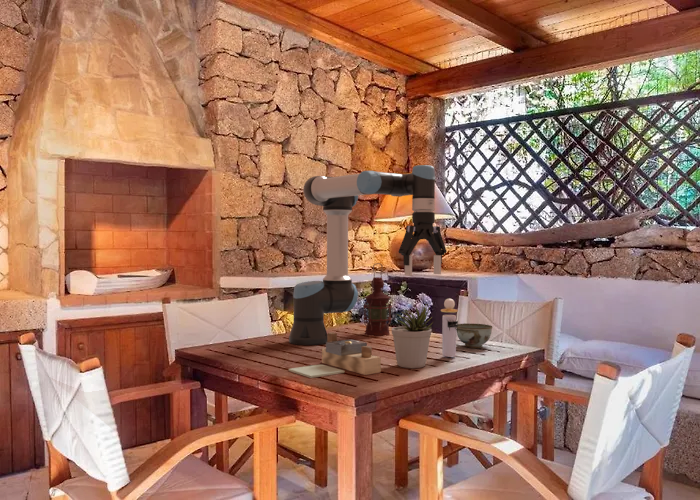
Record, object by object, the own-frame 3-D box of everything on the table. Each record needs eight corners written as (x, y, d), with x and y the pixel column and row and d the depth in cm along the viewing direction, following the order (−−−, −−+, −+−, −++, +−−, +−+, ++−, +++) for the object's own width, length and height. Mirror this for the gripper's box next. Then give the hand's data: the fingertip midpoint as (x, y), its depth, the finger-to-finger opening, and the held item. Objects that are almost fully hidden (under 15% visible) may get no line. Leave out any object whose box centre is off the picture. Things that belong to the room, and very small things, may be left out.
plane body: (321, 362, 195) (321, 333, 195) (336, 360, 199) (336, 331, 199) (365, 374, 178) (365, 342, 178) (380, 372, 182) (380, 340, 181)
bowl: (477, 351, 217) (477, 329, 217) (447, 346, 227) (448, 325, 227) (499, 347, 226) (499, 325, 226) (470, 342, 236) (470, 322, 236)
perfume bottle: (437, 356, 207) (437, 298, 206) (450, 355, 209) (451, 297, 209) (447, 359, 202) (447, 299, 201) (461, 358, 204) (461, 298, 204)
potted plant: (405, 372, 182) (405, 305, 182) (384, 363, 195) (384, 301, 194) (441, 368, 187) (441, 303, 187) (418, 360, 200) (418, 299, 199)
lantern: (382, 337, 248) (382, 264, 248) (357, 334, 255) (357, 263, 255) (396, 333, 259) (397, 263, 258) (372, 331, 265) (372, 262, 265)
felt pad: (288, 370, 183) (288, 368, 183) (321, 366, 190) (321, 364, 190) (311, 378, 173) (311, 375, 173) (344, 372, 181) (344, 370, 181)
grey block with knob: (325, 351, 190) (325, 341, 190) (351, 348, 196) (351, 338, 196) (341, 355, 184) (341, 344, 184) (366, 352, 190) (366, 341, 190)
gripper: (403, 210, 193) (403, 276, 194) (457, 212, 209) (456, 274, 209) (388, 210, 199) (387, 275, 199) (441, 213, 215) (440, 273, 215)
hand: (423, 275), depth 204 cm, fingers open, 13 cm apart
